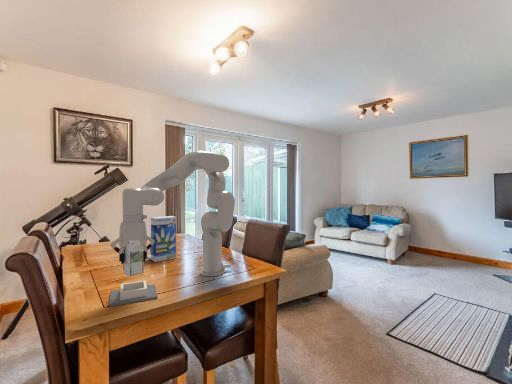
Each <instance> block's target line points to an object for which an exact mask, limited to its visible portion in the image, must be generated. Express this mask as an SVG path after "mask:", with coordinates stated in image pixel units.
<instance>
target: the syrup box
mask: <svg viewBox="0 0 512 384" xmlns="http://www.w3.org/2000/svg"><path fill="white" fill-rule="evenodd" d="M143 251H144V249H143V246H141V245H140V241H139V240H128V243H127V248H125V249H124V250H123V264H122V265H123V271H122V272H123V275H126V276H127V277H134V276H137V275H141V274H144V261H143Z"/></svg>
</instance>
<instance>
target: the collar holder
mask: <svg viewBox="0 0 512 384" xmlns="http://www.w3.org/2000/svg"><path fill="white" fill-rule="evenodd" d="M157 298H158V293H157V288H156V284H148V285H147V280H145V279H144V280H140V281H132V282H125V283H120V288H119V289H114V290H113V289H112V290H111V291H110V296H109V302H108V307H109V308H111V307H117V306H124V305H128V304H129V305H130V304H134V303H141V302H145V301H146V300H147V301H152V300H151V299H153V300H157ZM158 299H159V298H158Z"/></svg>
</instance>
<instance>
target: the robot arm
mask: <svg viewBox="0 0 512 384" xmlns="http://www.w3.org/2000/svg"><path fill="white" fill-rule="evenodd" d="M229 167H230V160H229V158H228V157H227V156H226V155H224V154H222V153H217V152H210V151H206V150H205V151H204V150H196V151H190V152H188V153H185V155H184V156H182V157H181V158H179V160H177V161H176V162H175V163H173V164H172V165H171V166H169V168H168V169H165V170H164V171H162V172H161V173H159V174H158V175H156V176H155V177H153V178H152V179H149V180H148V181H147V182H146V183H144V184H143V185H142V186H141V187H139V188H136V187H134V188H132V187H131V188H127V187H126V188H123V190H122V198H121V199H122V221H121V222H120V224H119V236H118V237H117V239H115V240H114V241H112V242H111V243H110V245H109V246H110V247H111V248H112V249H113V250H114V252H116V253H118V255H119V257H118V258H119V263H121V265H123V250H124V249H125V248H127V243H128V240H139V241H140V245H141V246H143V263H144V262H146V260H147V259H148V251H149V250H151V247H152V245H153V244H154V242H155V240H153V239H152V238H151V236H148V233H147V225H146V224H147V223H146V221H145V219H146V220H147V219H148V215H145V214H144V206H151V207H153V206H154V207H155V206H159V205H160V204H162V203H163V202H164V199H165V194H164V191H165V190H168V189H169V188H172V187H176V186H179V185H180V184H182V183H183V182H184V181H186V179H188V178H189V177H190V176H191V175H192V174H194V172H195V171H196V170H203V171H204V173H205V174H206V175H207V178H208V189H207V197H206V205H207V206H208V207H209V208H211V209H213V210H217V211H210V210H209V211H207V212H204V213H203V215H202V216H201V219H200V225H201V232H202V268H201V269H200V270H199V273H200V275H201V276H204V277H219V276H221V275H224V274H225V272H226V268H227V269H228V268H232V267H231V266H232V264H231V263H227V262H225V263H223V261H222V260H223V259H222V258H223V256H222V255H223V251H222V250H223V249H222V248H223V246H222V244H223V241H222V240H223V237H222V233H227V232H228V231H229V230H230V229H231V227H232V226H233V219H234V212H235V207H236V205H235V204H236V201H235V200H236V199H235V195H234V194H233V193H232V192H231V191H229V190H226V183H227V182H226V177H225V175H224V173H223V172H226V171H227V170H228V169H229ZM148 241H149V243H148V244H147V242H148ZM117 244H119V247H118V246H117ZM146 245H147V246H146Z"/></svg>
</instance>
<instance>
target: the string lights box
mask: <svg viewBox="0 0 512 384" xmlns="http://www.w3.org/2000/svg"><path fill="white" fill-rule="evenodd" d="M150 238H152V239H153V240H155V242H154V244H153V245H152V247H151V248H150V260H152V261H153V262H155V263H157V262H163V261H169V260H174V259H177V217H176V216H174V215H169V216H166V215H165V216H151V217H150Z"/></svg>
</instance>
